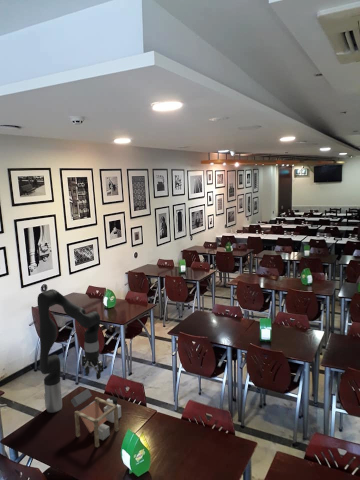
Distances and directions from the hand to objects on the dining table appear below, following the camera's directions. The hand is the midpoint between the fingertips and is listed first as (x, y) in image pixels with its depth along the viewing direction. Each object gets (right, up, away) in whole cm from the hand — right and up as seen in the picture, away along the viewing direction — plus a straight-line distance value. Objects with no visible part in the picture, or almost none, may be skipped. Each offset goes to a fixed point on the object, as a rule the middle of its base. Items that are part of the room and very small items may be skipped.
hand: (92, 376), depth 198 cm
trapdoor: (-4, -20, +2) cm, 21 cm away
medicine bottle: (+9, -29, +12) cm, 33 cm away
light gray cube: (+4, -28, -2) cm, 29 cm away
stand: (+3, -31, -1) cm, 31 cm away
